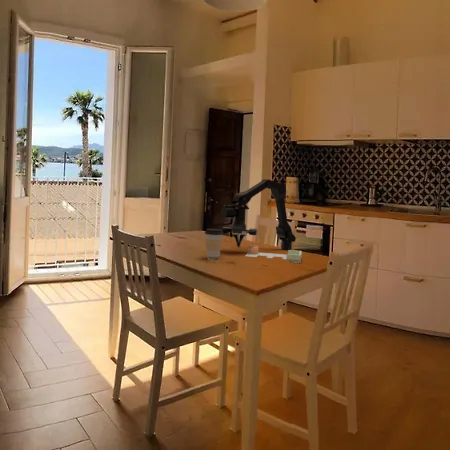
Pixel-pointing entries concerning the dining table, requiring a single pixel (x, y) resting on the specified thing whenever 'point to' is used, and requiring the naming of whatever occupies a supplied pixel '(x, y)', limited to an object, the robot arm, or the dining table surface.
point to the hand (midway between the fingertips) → (238, 247)
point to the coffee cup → (213, 243)
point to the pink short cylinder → (253, 249)
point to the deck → (282, 255)
